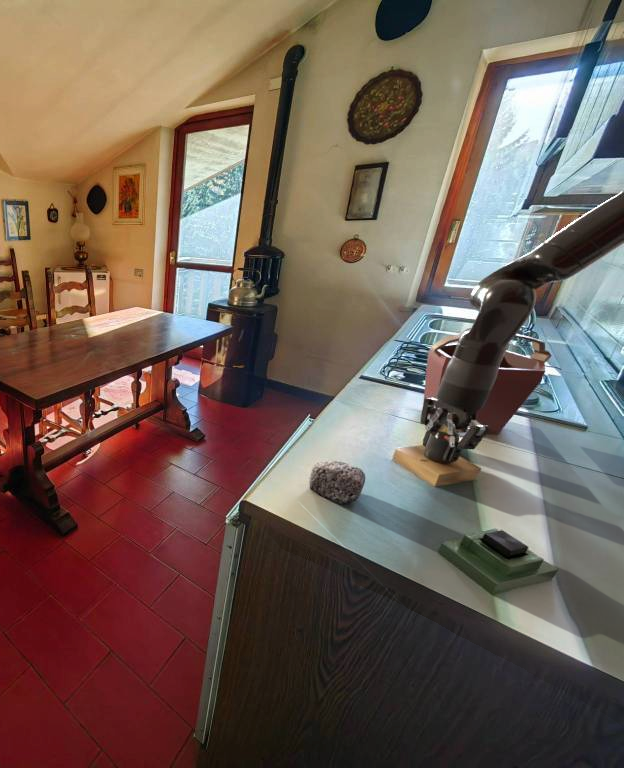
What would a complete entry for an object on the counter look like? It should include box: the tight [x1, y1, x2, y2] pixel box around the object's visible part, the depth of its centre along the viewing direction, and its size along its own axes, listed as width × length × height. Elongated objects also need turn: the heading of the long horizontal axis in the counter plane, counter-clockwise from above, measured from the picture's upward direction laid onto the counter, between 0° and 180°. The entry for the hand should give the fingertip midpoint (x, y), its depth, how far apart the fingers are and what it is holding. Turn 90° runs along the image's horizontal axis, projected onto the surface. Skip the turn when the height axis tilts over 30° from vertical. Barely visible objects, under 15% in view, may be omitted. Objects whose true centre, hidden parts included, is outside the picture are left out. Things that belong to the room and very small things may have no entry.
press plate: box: [481, 529, 530, 559], centre depth 59 cm, size 4×4×2 cm
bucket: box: [422, 333, 552, 435], centre depth 102 cm, size 24×22×25 cm
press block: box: [437, 528, 559, 596], centre depth 60 cm, size 12×8×4 cm, turn 103°
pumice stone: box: [308, 460, 366, 505], centre depth 75 cm, size 10×8×10 cm
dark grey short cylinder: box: [423, 431, 459, 464], centre depth 83 cm, size 5×5×6 cm
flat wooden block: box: [391, 444, 482, 487], centre depth 84 cm, size 11×10×3 cm
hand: (437, 453), depth 83 cm, fingers closed on dark grey short cylinder, 5 cm apart
